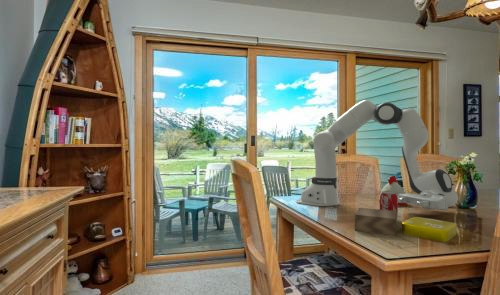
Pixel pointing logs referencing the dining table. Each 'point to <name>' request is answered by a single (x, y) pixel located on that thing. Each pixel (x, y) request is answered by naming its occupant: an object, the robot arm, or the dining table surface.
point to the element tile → (429, 229)
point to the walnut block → (375, 221)
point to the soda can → (389, 201)
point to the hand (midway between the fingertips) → (408, 202)
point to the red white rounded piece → (394, 189)
